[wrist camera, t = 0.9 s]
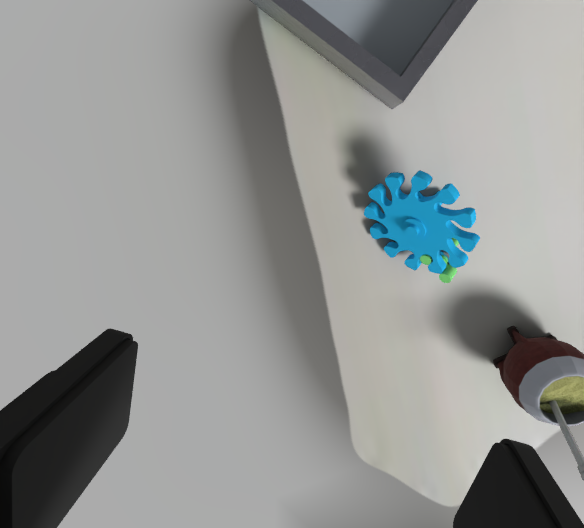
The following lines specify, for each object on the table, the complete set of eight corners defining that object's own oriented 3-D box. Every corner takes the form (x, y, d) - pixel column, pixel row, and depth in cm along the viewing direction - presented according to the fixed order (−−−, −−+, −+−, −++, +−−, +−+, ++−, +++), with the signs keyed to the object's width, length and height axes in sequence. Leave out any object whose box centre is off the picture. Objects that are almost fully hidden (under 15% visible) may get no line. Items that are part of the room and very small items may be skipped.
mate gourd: (543, 307, 37) (677, 409, 22) (574, 369, 38) (718, 500, 24) (471, 340, 38) (552, 454, 24) (503, 398, 40) (598, 536, 26)
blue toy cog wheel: (342, 192, 34) (443, 164, 26) (376, 161, 37) (476, 127, 28) (393, 286, 37) (495, 288, 29) (421, 251, 40) (521, 244, 32)
